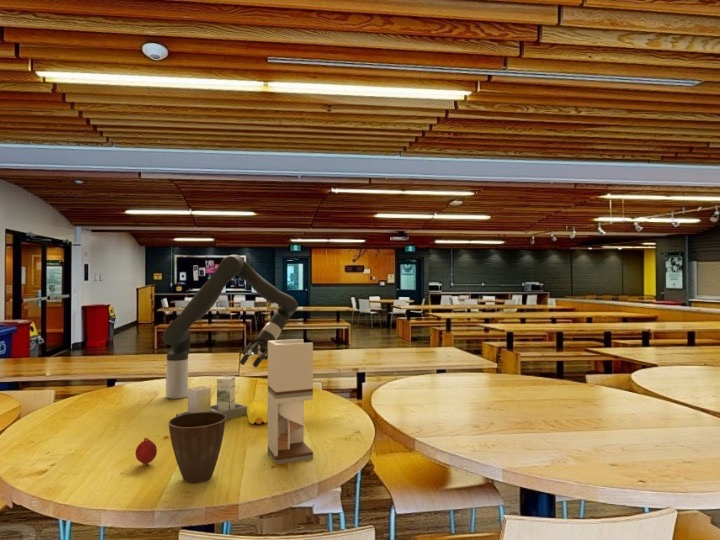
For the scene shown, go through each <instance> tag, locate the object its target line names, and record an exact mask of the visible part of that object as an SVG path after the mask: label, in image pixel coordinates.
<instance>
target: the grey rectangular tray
mask: <svg viewBox="0 0 720 540" xmlns="http://www.w3.org/2000/svg"><path fill="white" fill-rule="evenodd" d="M211 412H215V413H221V414H223V415H225V416H226V420H231V419H234V418H237V416H238V417H240V416H245V415H248V406H247V405H244V404H240V403H237V402H235V409H231V410H227V411H223V412H222V411H218V410H217V403H216V404H211ZM185 414H188V411H184V412H180V413H176V414H175V417H177V416H181V415H185ZM233 417H234V418H233ZM226 420H225V421H226Z"/></svg>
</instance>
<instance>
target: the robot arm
mask: <svg viewBox="0 0 720 540" xmlns="http://www.w3.org/2000/svg"><path fill="white" fill-rule="evenodd" d="M236 276H238V277H239V278H241V279H242V280H244V281H245V282H246V283H247V284H249V285H250V286H251V288H252V289H253V290H254V291H255V292H256V293H257V294H258V295H259V296H260V297H262V298H263V299H264V300H265V301H267V302H268V303H269V304H272V305H273V304H276V305H278V306H279V307H278V308H277V310H276V311H275V313H274V314H273V315H272V316H271V317H270V318H269V321H268V322H266V324H265V325H264V327H263V328H261V330H260V332H259V333H258V335H257V337H256V339H255V343H252V342H249V343H248V344H247V345H246V346H245V348H244V349H243V351H242V352H241V353H242V354H243V356H242V358H241V359H240V360H239V364H241V366H244V365H245V364H246V363H247V361H248V360H249V358H251V357H253V356H255V355H257V357H256V358H255V359H254V361H253V363H252V366H253V367H254V368H258V366H259V365H260V364H261V362H262V361H264V360H265V361H266V360H267V361H268V341H272V340H278V337H279V336H280V334H281V332H282V330H283V329H284V328H285V327H286V325H287V322H288V321H289V320H290V318H291V317H292V315H294V314H295V312H296V311H297V309H298V307H299V304H298V302H297V300H296V299H295V297H293V296H291V295H290V294H287V293H285V292H283V291H281V290H279V288H276V287H275V286H274V285H273V284H272V283H270V282H269V281H267V280H266V279H265V278H263V276H261V275H260V274H259V273H258V272H256V271H255V270H254V269H253V268H252V267H251V266H250V265H249V264H248V263H247V262H246V261H245V260H244V259H243V257H241V256H240V255H239V254H231V255H230V254H229V255H228V256H224V258H223V259H222V260H221V261H220V263H219V265H218V267H216V270H215V271H214V272H213V274H212V276H210V278H209V279H207V280H206V282H205V283H204V284H203V285H202V286H201V287H200V288H199V289H198V291H197V292H196V293H195V294H194V296H193V297H192V298H191V299H190V301H189V303H188V304H187V305H186V306H185V307H184V309H183V310H181V313H179V314H178V316H177V317H176V318H175V319H174V320H173V321H172V322H171V323H170V324H169V325H168V326H167V327H166V328H165V330H164V331H163V336H162V338H163V341H164V343H165V344H166V345H168V346H171V348H170V349H169V351H168V352H167V354H166V376H165V397H166V399H169V398H170V399H171V400H176V399H177V400H178V399H183V398H184V399H185V398H188V389H189V354H190V351H191V331H190V327H191V326H193V324H194V323H196V322H197V321H199V320H200V319H201V318H202V317H204V316H205V315H207V313H208V312H209V311H210V310H211V309H212V307H213V306H214V305H215V304H216V302H217V301H218V299H219V298H220V295H221V294H222V292H223V291H224V288H225V287H226V285H228V284H229V282H230V281H231V280H233V278H235V277H236Z"/></svg>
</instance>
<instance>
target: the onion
mask: <svg viewBox="0 0 720 540" xmlns="http://www.w3.org/2000/svg"><path fill="white" fill-rule="evenodd" d="M157 453H158V449H157V445H156V444H155V443H154V442H153V441H152V440H151V439H149V438H148V437H144V438H143V440H142V441H141V442H140V443H138V445H137V446H136V449H135V453H134V454H135V458H136V459H137V461H138V462H140V463H142V464H143V465H144V464H147V465H149V464H150V463H152V462H153V460H154V459H155V458H156V456H157ZM148 463H149V464H148Z"/></svg>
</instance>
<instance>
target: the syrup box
mask: <svg viewBox="0 0 720 540" xmlns="http://www.w3.org/2000/svg"><path fill="white" fill-rule="evenodd" d="M235 403H236V376H235V375H221V376H218V377H217V378H216V404H217V410H218V411H222V412H223V411H227V410H231V409H235Z"/></svg>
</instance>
